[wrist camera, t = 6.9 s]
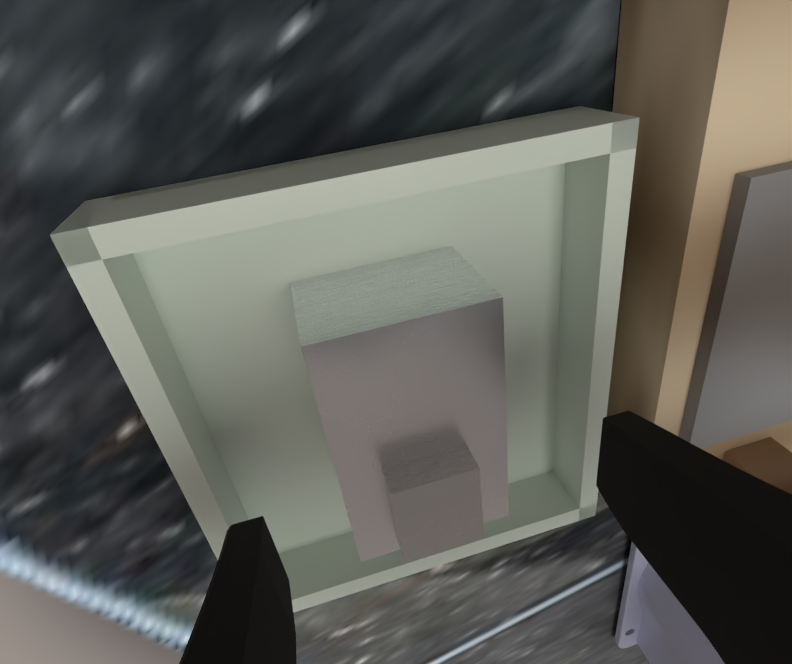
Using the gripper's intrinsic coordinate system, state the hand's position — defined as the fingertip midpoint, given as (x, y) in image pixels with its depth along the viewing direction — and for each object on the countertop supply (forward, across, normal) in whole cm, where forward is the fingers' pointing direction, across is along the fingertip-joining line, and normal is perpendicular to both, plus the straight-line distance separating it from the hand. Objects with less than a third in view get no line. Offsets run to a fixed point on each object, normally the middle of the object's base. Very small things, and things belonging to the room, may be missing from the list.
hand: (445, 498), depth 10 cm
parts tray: (+5, 0, 0) cm, 5 cm away
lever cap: (+4, 0, 0) cm, 4 cm away
